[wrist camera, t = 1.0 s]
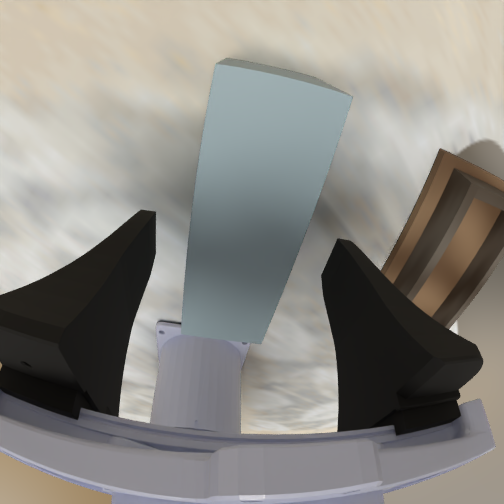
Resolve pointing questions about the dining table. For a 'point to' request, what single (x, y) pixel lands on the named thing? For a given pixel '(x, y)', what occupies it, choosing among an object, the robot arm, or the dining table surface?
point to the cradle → (450, 239)
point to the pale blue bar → (255, 193)
